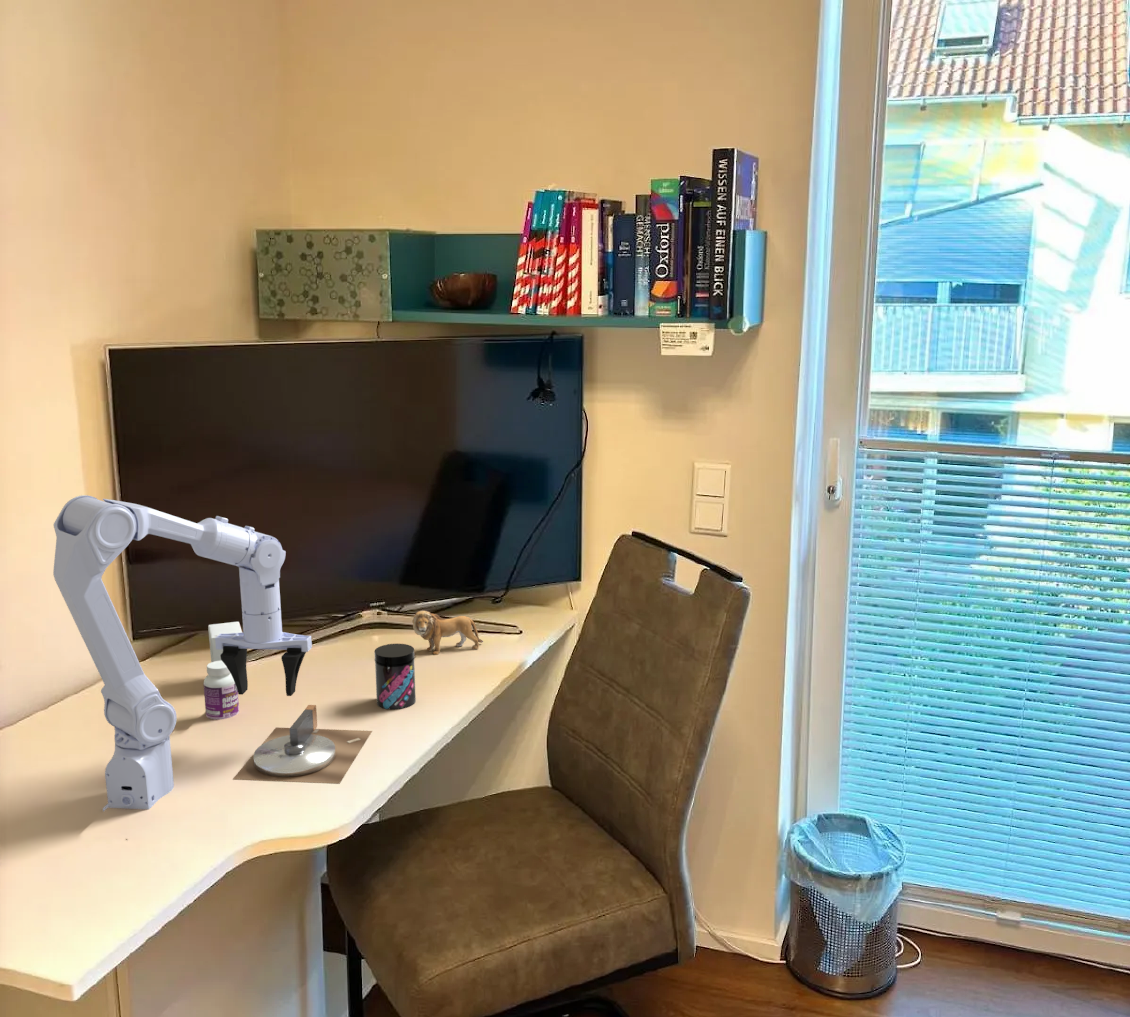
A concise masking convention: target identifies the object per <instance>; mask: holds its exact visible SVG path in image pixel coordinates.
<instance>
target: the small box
mask: <svg viewBox="0 0 1130 1017" xmlns="http://www.w3.org/2000/svg"><path fill="white" fill-rule="evenodd" d="M207 627H208V628H207V629H208V631H207V632H208V641H209V650H210V652H209V653H210V663H211V662H215V661H222V660H221V657H220V655H221V654H222V653H223V649H222V650H220V649H216V643H215V638H216V637H217V636H218V635H219V634H229V633H241V632H243V628H242V627H241V624H240V621H231V622H224V623H213V624H208V626H207Z"/></svg>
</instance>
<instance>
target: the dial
mask: <svg viewBox="0 0 1130 1017" xmlns="http://www.w3.org/2000/svg"><path fill="white" fill-rule="evenodd" d="M289 728H290V735H288V736H283V737H279V738H276V739H273V740H270V741H268V742H266V743H264V744H262V743H261V745H260V746H258V747H257V748H256V749H255V751H254V753H253V754H254V765H255V767H256V769H257V770H259V771H260V772H262V773H264V774H267V775H272V776H280V777H289V776H299V775H305V774H309V773H312V772H315V771H318V770H320V769H323V768H324V767H326V766H328V765H329V764H330V763H331V762H332V761H333V760H334V758H335V745H334V743H333V742H332V741H331V740H330V739H328V738H326V737H323V736H319V735H313V734H312V732H313V731H314V730H315V729H317V728H318V716H317V705H316V704H308V705H307V706H306V707H305V708H304V710H303V711H302V712H301V714H300V715H299V716H298V717H297V719H296V720H295V721H294V723H293V724H292V725H290V727H289Z"/></svg>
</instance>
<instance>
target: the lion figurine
mask: <svg viewBox="0 0 1130 1017" xmlns="http://www.w3.org/2000/svg"><path fill="white" fill-rule="evenodd" d="M411 623H412V627H413V628H412V629H413V631H414V633H415V634H416V635H418V636H419V637H421V638H422V639H423V640H425V641H428V645H429V646H428V647H426V651H427V652H430V651H431V652H432V655H435V656H437V655H439V654H440V652H441V651H440V650H441V647H440V646H441V643H440V642H441V640H442V638H451V637H453V636H454V635H456V634H457V633H459V635H460V641H459V642H456V644H455V645H456V647H462V646H463V645H464V643H465V642H466V641H467V639H468V640H470V641H472V642H473V643H474V645H472V646H471V649H473V650H478V649H479V647H480V645H479V643H483V642H484V641H483V640H482V639H481V638H479V633H478V629H477V625H476V624H475V622H474V621H473V619H471V617H468V616H464V615H459V616H456V617H451V618H443V617H440V615H438V614H437V613H431V611H427V610H420V611H417V612H416V613H415V614H414V615H413V618H412V622H411ZM433 650H434V651H433Z"/></svg>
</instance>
